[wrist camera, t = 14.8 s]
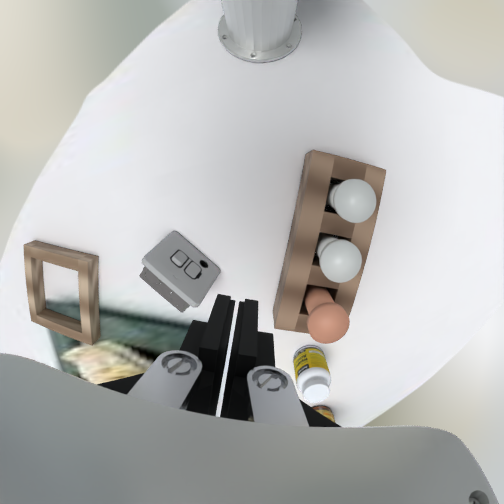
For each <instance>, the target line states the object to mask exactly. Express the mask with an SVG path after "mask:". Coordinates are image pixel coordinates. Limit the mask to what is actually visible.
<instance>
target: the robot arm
mask: <svg viewBox="0 0 504 504" xmlns="http://www.w3.org/2000/svg"><path fill="white" fill-rule="evenodd" d="M221 3H222V7H223V11H224V15H223V16H222V17H221V19H220V22H219V25H218V35H219V39H220V41H221V43H222V45H223V46H224V48H225V49H226V50H227V51H228V52H230V53H231V54H232V55H234V56H236V57H238V58H240V59H243V60H246V61H251V62H271V61H275V60H278V59H281V58H283V57H285V56H287V55H288V54H290V53H291V52H292V51H293V50H294V49H295V48H296V47H297V45H298V43H299V41H300V38H301V34H302V27H301V23H300V20H299V19H298V17H297V15H296V14H295V13H296V8H297V4H298V0H221ZM287 47H289V48H287ZM253 56H254V58H252V57H253ZM230 299H231V296H226V295H221V294H218V295H217V298H216V300H215V303H214V306H213V309H212V312H211V315H210V318H209V320H208V323H207V322H201V321H196V320H193V321H192V323H191V325H190V328H189V330H188V332H187V334H186V337H185V339H184V341H183V343H182V346H181V348H180V350H179V351H177V350H173V351H168V352H165V353H163V354H161V355H160V356H159V357H158V358H157V359H156V360H155V362H154V363H153V364H152V365H151V366H150V367H149V369H148V370H147V371H146V372H145V373H142V374H138V375H134V376H131V377H127V378H123V379H118V380H114V381H110V382H106V383H101V384H97V385H96V384H93V383H91V382H88V381H85V380H83V379H80V378H78V377H75V376H73V375H70V374H68V373H65V372H63V371H60V370H58V369H55V368H53V367H50V366H48V365H45V364H43V363H40V362H37V361H35V360H32V359H29V358H25V357H22V356H18V355H12V354H6V353H0V504H499V503H498V501H497V498H496V496H495V494H494V492H493V490H492V488H491V486H490V484H489V482H488V480H487V478H486V476H485V475H484V473H483V471H482V469H481V467H480V466H479V464H478V463H477V461H476V460H475V458H474V457H473V455H472V453H471V452H470V451H469V449H468V448H467V447H466V446H465V444H464V443H463V442H462V441H461V440H460V439H459V438H458V437H457V436H455V435H454V434H452V433H450V432H447V431H444V430H440V429H436V428H431V427H422V426H382V427H381V426H380V427H341V426H339V425H338V424H336V423H335V422H333V421H331V420H330V419H328V418H327V417H325V416H324V415H322V414H321V413H319V412H318V411H316V410H315V409H313V408H312V407H310V406H309V405H307V404H306V403H304V402H303V401H301V400H300V399H299V397H298V394H297V392H296V389H295V386H294V383H293V381H292V379H291V377H290V375H288V374H287V373H286V372H285V371H283V370H281V369H279V368H276V367H275V356H274V341H273V334H272V333H265V332H259V331H258V301H256V300H250V299H245V302H241V301H240V302H239V307H238V313H237V319H236V325H235V331H234V337H233V342H232V348H231V354H230V360H229V366H228V372H227V378H226V384H225V390H224V397H223V403H222V409H221V415H220V417H216V416H215V415H216V410H217V404H218V399H219V393H220V388H221V382H222V377H223V372H224V366H225V361H226V355H227V349H228V343H229V336H230V330H231V324H232V318H233V312H234V306H235V300H230Z"/></svg>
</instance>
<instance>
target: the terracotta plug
mask: <svg viewBox="0 0 504 504" xmlns="http://www.w3.org/2000/svg"><path fill="white" fill-rule="evenodd" d="M303 299H304V302H305V305H306V308H307V311H308V314H309V316H308V319H307V326H308V330H309V333H310V335H311V337H312V338H313V339H314V340H315V341H317V342H320V343H325V344H327V343H333V342H335V341H337V340H339V339H341V338H342V337H343V336H344V335H345V334H346V332H347V330H348V328H349V317H348V315H347V313H346V311H345V310H344V308H343V307H342V306H340V305H339V304H337V303H334V301H333V299H332V297H331V296H330V294H329V292H328V290H327V289H326V287H322V286H316V285H310V284H307V286H306V290H305V293H304V297H303Z"/></svg>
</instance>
